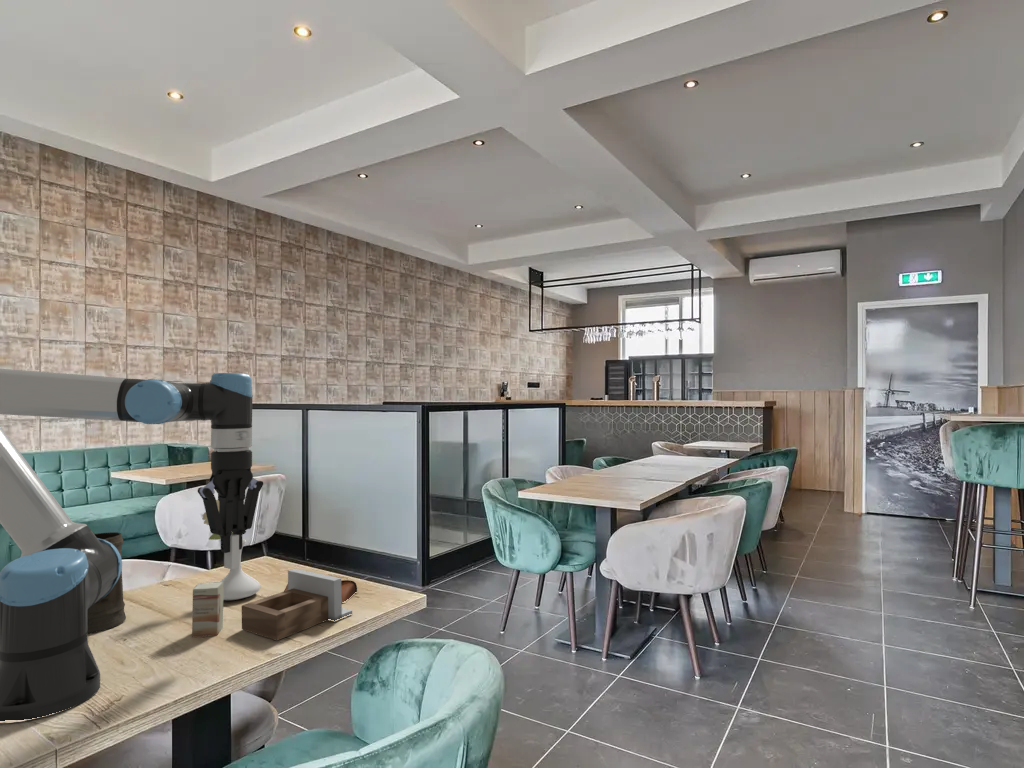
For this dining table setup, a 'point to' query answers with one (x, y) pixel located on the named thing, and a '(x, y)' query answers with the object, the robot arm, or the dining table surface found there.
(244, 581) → the flower in vase
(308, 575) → the wall
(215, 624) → the skincare box
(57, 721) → the dining table surface
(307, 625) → the socket block
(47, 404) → the robot arm
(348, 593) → the sunglasses case
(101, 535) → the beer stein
